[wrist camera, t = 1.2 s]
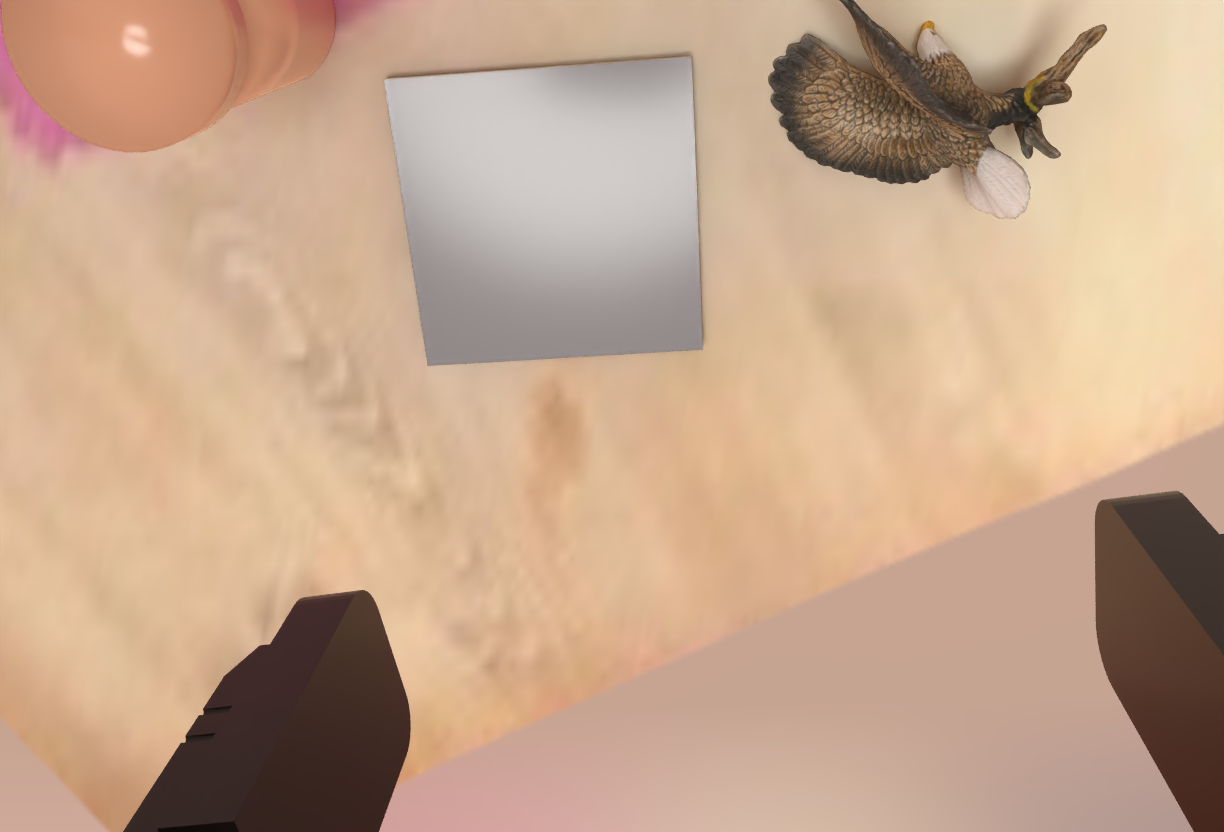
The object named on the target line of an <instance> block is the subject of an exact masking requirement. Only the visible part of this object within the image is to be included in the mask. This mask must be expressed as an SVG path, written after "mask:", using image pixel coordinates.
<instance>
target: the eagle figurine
mask: <svg viewBox="0 0 1224 832" xmlns="http://www.w3.org/2000/svg"><path fill="white" fill-rule="evenodd" d="M840 1H841V2H842V3H843V4H844V5H845V7H846V8H847V9H848V10H849V12H850V14H851V15H852V17H853V19H854V21H855V23H856V27H857V31H858V33H859V36H860V38H861V41H862V45H863V47H864V49H865V51H866V53H867V55H868V57H869V59H870V61H871V63H872V65H873V66H874V67H875V68H876V70H877V71H878V72H879V73H880V74H881V75H882V76H883V77H884V78H885V80H886V81H887V82H885V81H883V80H881V79H879V78H876V77H874V76H872V75H870V74H868V73H865V72H863V71H860V70H858V69H856V68H854V67H853V66H851V65H850V64H848V63H847V62H846V61H845V60H844V59H843V58H842V57H841V56H839V55H838V54H837V52H835V51H834V50H832V49H830V48H829V47H828V46H827V45H826V44H825V43H823V42H822V41H821V40H819V39H817V38H815V37H813V36H812V35H809V34H808V35H805V36H804V37H803V38H802V41H801V43H799V44H791V45H789V46H788V48H787V51H786V52H787V53H786V56H781V57H778V58H777V59H775V60H774V62H773V67H774V69H775V70H774V72H772V73H771V74H770V75H769V77H768V81H769V84H770V86H771V87H772V88H773V90H774V94H773V95H772V96H771V102H772V104H773V106H774V107H775V108H776V109H777V110H778V111H780V112H781V113H783V114H784V116H783V117H782V118H780V120H779V121H780V125H781V126H782V127H784V128H785V129H787V130H788V131H789V132H788V133H787V136H788V139H789V141H791V142H792V143H793V144H794V145H795V146H796V147H797V148H798V149H799V150H801V151H804V154H805V155H806V157H808V158H810V159H814V160H816V161H817V162H818V164H820V165H823V166H831V167H832V168H834V169H838V170H840V171H843V172H850V171H853V173H854V174H856V175H862V176H864V177H867V178H877V179H878V180H879V181H881V182H887V183H890V184H892V183H898V184H904V183H906V182H911V183H918V182H919V181H920V180H926V179H928V178H929V176H930V175H931V174H935V173H937V172H939V171H940V169H941V167H942V168H948V167H950V166H951V164H952V163H954V164H956V165H958V166H960V168H961V172H962V177H963V182H964V191H965V195H966V199H967V201H968V202H969V203H970V204H971V205H972V206H973V207H974V208H975V209H977V210H979V211H983V212H985V213H989V214H992V215H994V216H996V217H997V218H1001V219H1003V218H1009V219H1012V218H1013V219H1016V218H1017V217H1018V216H1019V215H1020V214H1021V213H1023V212H1024V211H1025V210H1026V208H1027V205H1028V201H1029V199H1030V188H1031V187H1030V183H1029V181H1028V176H1027V174H1026V172H1025V171H1024V169H1023V168H1022V167H1021V166H1020V165H1019V164H1018V163H1017V162H1016V161H1015V160H1013V159H1012V158H1011V157H1009V156H1008V155H1006V154H1004V153H1002V152H1001V151H998V150H996V149H995V147H994V146H993V144H992V143H991V141H990V139H989V137H988V134H991V132H992V130H993V129H995V128H996V127H998V126H1001V125H1009V124H1011V123H1014V127H1015V131H1016V133H1017V135H1018V137H1019V141H1020V145H1021V150H1022V153H1023V154H1024V156H1025V157H1026V158H1027V159H1029V158H1031V156H1032V154H1033V147H1035V148H1036V149H1038V150H1039V151H1040V152H1042V153H1043V154H1044V155H1046V156H1047V157H1049V158H1053V159H1054V158H1058V157H1060V156H1061V153H1060V152H1059V151H1058V150H1057V149H1056V148H1055V147H1053V146H1052V145H1051V144H1050V143H1049V142H1048V141H1047V140H1046V138H1045V137H1044V135H1043V132H1042V125H1041V120H1040V118H1039V117H1038V116H1037V113H1038V112H1039V111H1040V110H1041V109H1042V107H1043V106H1045V105H1054V104H1059V103H1064V102H1068V101H1069V99H1070V98H1071V96H1072V91H1071V89H1070V87H1069V86H1068V85H1067V84H1066V83H1064V82H1065V81H1066V79H1067V78H1068V77H1069V75H1070V74H1071V72H1072V71H1073V70H1074V68H1075V67H1076V65H1077V64H1078V62H1079V61H1080V59H1081V58H1082V57H1083V55H1084V54H1085V53H1086V52H1087V51H1088V50H1089V49H1090V48H1092V47H1093V46H1094V45H1095V44H1096V43H1097V42H1098V41H1099V40H1100V39H1101V38H1102V37H1103V35H1104V34H1105V32H1106V31H1107V27H1106V26H1105V25H1103V24H1102V25H1099V26H1096V27H1093V28H1091V29H1089V30H1088V31H1085V32H1083V33H1082V34H1080V35H1079V36H1078V38H1077V39H1076V41H1075V43H1074V44H1073V45H1072V46H1071V47H1070V48H1069V49H1068V50H1067V51H1066V52H1065V53H1064V54H1063V55H1062V56H1061V58H1060V59H1059V61H1058V63H1057V64H1056V65H1055V66H1053V67H1051V68H1049V69H1047V70H1045V71H1043V72H1041V73H1040V74H1039V75H1038V76H1037V77H1036V78H1034V79H1033V80H1031V81H1029V82H1028V83H1027V85H1026V86H1025V87H1024V88H1017V89H1011V90H1009V91H1008V92H1006V93H1004V94H1001V95H999V94H994V93H987V92H984V91H982V90H980V89H979V88H978V87H976V86H975V85H974V84H973V81H972V78H971V76H970V74H969V72H968V70H967V69H966V67H965V66H964V64H963V63H962V62H961V61H960V60H959V59H957V57H956V56H955V55H954V54H953V53H952V51H951V50H950V49H949V48H948V46H947V45H946V44H945V42H944V41H943V40H942V38H941V37H940V36H939V35H938V34H937V33H936V32H935V31H934V29H933V28H934V23H933V22H931V21H928V22H926V23H925V24H924V25H923V28H922V32H921V35H920V37H919V40H918V44H917V52H918V55H919V58H920V59H919V58H918V57H916V56H914V55H913V54H911V53H910V52H908V51H907V50H906V49H905V48H904V47H903V46H902V45H901V44H900V43H899V42H898V41H897V40H896V39H895V38H894V37H893V36H892V35H891V34H890V33H888V32H887V31H886V30H885V29H884V28H882V27H880V26H879V25H877V24H876V23H875V22H874V21H872V20H871V19H870V18H869V17H868V15H867V14H866V13H865V12H864V11H862V10H861V8H860V7H859V6H858V5H857V4H856V3H855V2H854V0H840ZM1032 146H1033V147H1032Z"/></svg>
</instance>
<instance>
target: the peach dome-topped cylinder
mask: <svg viewBox="0 0 1224 832" xmlns="http://www.w3.org/2000/svg"><path fill="white" fill-rule="evenodd" d="M335 20H336V17H335V7H334V3H333V0H1V23H2V33H3V37H4V41H5V46H6V49H7V52H8V55H9V58H10V61H11V63H12V66H13V68H14V70H15V72H16V74H17V76H18V78H19V80H20V81H21V83H22V84H23V86H24V88H25V89H26V91H27V92H28V94H29V95H30V96H31V97H32V99H33V100H34V101H35V103H36V104H37V105H38V106H39V107H40V108H41V109H42V110H43V111H44V112H45V113H46V114H47V115H48V116H49V117H50V118H51V119H52V120H54V121H55V122H56V123H57V124H58V125H59V126H61V127H62V128H64V129H65V130H67V131H68V132H70V133H71V134H73V135H75V136H77V137H78V138H80V139H82V140H84V141H86V142H89V143H91V144H94V145H96V146H99V147H102V148H106V149H110V150H114V151H122V152H147V151H154V150H158V149H161V148H165V147H168V146H170V145H173V144H175V143H177V142H180V141H182V140H184V139H187V138H189V137H191V136H194V135H196V134H198V133H200V132H202V131H205V130H206V129H208V128H209V127H211V126H212V125H214V124H215V123H216V122H218V121H219V120H220V119H221V118H222V117H223V116H224V115H225V114H226V113H227V111H228V110H229V109H230V108H232V107H235V106H238V105H240V104H243V103H245V102H248V101H250V100H253V99H255V98H258V97H260V96H263V95H265V94H268V93H270V92H273V91H275V90H278V89H280V88H283V87H285V86H288V85H290V84H293V83H295V82H298V81H300V80H302V79H304V78H306V77H307V76H309V75H310V74H312V73H313V72H314V71H315V70H316V69H317V68H318V67H319V66H320V65H321V63H322V62H323V61H324V59H325V58H326V56H327V54H328V52H329V50H330V48H331V45H332V42H333V38H334V33H335Z"/></svg>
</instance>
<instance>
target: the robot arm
mask: <svg viewBox="0 0 1224 832" xmlns="http://www.w3.org/2000/svg"><path fill="white" fill-rule="evenodd" d="M1095 581H1096V630H1097V638H1098V645H1099V650H1100V654H1101V658H1102V662H1103V665H1104V668H1105V671H1106V674H1107V676H1108V679H1109V681H1110V683H1111V685H1112V687H1113V689H1114V690H1115V692H1116V694H1117V696H1118V698H1119V700H1120V701H1121V703H1122V705H1123V707H1124V708H1125V710H1126V712H1127V714H1128V715H1129V717H1130V719H1131V721H1132V723H1133V724H1134V726H1135V728H1136V730H1137V731H1138V733H1139V735H1140V737H1141V739H1142V740H1143V742H1144V744H1145V745H1146V747H1147V749H1148V751H1149V753H1150V754H1151V756H1152V758H1153V760H1154V762H1155V763H1156V765H1157V767H1158V769H1159V770H1160V772H1161V774H1162V776H1163V778H1164V779H1165V781H1166V783H1167V785H1168V786H1169V788H1170V790H1171V792H1172V793H1173V795H1174V797H1175V799H1176V801H1177V802H1178V804H1179V806H1180V808H1181V810H1182V811H1183V813H1184V815H1185V816H1186V818H1187V820H1188V822H1189V824H1190V825H1191V827H1192V829H1193V831H1194V832H1224V534H1219V533H1218V532H1217V531H1216V530H1215V529H1214V528H1213V527H1212V526H1211V525H1210V523H1209V522H1208V521H1207V520H1206V519H1205V518H1204V517H1203V516H1202V514H1201V513H1200V512H1199V511H1198V510H1197V509H1196V508H1195V507H1194V505H1193V504H1192V503H1191V502H1190V501H1189V500H1188V499H1187V498H1186V497H1185V496H1184V495H1183V494H1182V493H1180V492H1178V491H1172V492H1162V493H1155V494H1146V495H1139V496H1131V497H1123V498H1114V499H1107V500H1102V501H1100V502H1099V504H1098V506H1097V509H1096V514H1095ZM203 710H204V714H203V715H199V716H198V718H197V719H196V721H195V722H194V724H193V725H192V727H191V728H190V730H189V731H188V733H187V734H186V742H185V743H181V744H180V745H179V747H178V748H177V750H176V751H175V753H174V754H173V756H172V757H171V759H170V761H169V762H168V764H167V765H166V767H165V768H164V770H163V771H162V773H161V774H160V776H159V777H158V779H157V780H156V782H155V784H154V785H153V787H152V788H151V790H150V791H149V793H148V794H147V796H146V797H145V799H144V800H143V802H142V804H141V805H140V807H139V808H138V810H137V811H136V813H135V814H134V816H133V817H132V819H131V820H130V822H129V823H128V825H127V827H126V828H125V830H124V831H123V832H379V830H380V827H381V824H382V821H383V819H384V816H385V813H386V810H387V807H388V805H389V802H390V799H391V797H392V794H393V791H394V788H395V785H396V783H397V780H398V777H399V774H400V772H401V769H402V766H403V763H404V761H405V758H406V755H407V752H408V747H409V742H410V730H411V726H410V711H409V704H408V699H407V696H406V692H405V689H404V686H403V683H402V680H401V677H400V674H399V671H398V668H397V665H396V662H395V659H394V656H393V653H392V650H391V647H390V644H389V641H388V637H387V634H386V631H385V628H384V625H383V622H382V619H381V616H380V613H379V610H378V607H377V605H376V603H375V601H374V599H373V597H372V596H371V595H370V594H369V593H368V592H367V591H365V590H359V591H351V592H343V593H335V594H327V595H319V596H311V597H304V598H301V599H299V600H298V601H297V602H296V604H295V605H294V607H293V608H292V610H291V611H290V613H289V615H288V616H287V618H286V620H285V621H284V623H283V624H282V626H281V628H280V629H279V631H278V633H277V634H276V636H275V637H274V639H273V641H272V642H271V644H269V645H261V646H259V647H258V648H257V649H255V650H254V651H253V652H252V653H251V654H250V655H248V656H247V657H246V658H245V659H244V660H243V661H241V662H240V663H239V664H238V665H237V666H236V667H234V668H233V669H232V670H231V671H230V672H229V673H227V674H226V675H225V676H224V678H223V679H222V681H221V682H220V684H219V685H218V687H217V688H216V690H215V691H214V693H213V695H212V696H211V698H210V699H209V701H208V702H207V704H206V705H205V707H204V708H203Z"/></svg>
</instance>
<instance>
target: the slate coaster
mask: <svg viewBox="0 0 1224 832" xmlns="http://www.w3.org/2000/svg"><path fill="white" fill-rule="evenodd" d="M384 85H385V92H386V98H387V105H388V111H389V118H390V124H391V130H392V137H393V143H394V150H395V156H396V163H397V169H398V176H399V182H400V189H401V195H402V202H403V208H404V215H405V221H406V228H407V234H408V241H409V247H410V254H411V260H412V267H413V273H414V280H415V286H416V293H417V299H418V306H419V312H420V319H421V325H422V331H423V338H424V344H425V351H426V357H427V364H428V366H434V365H451V364H467V363H484V362H501V361H518V360H535V359H552V358H569V357H586V356H603V355H620V354H637V353H654V352H671V351H688V350H703V338H702V312H701V286H700V261H699V235H698V209H697V184H696V158H695V132H694V107H693V81H692V57H691V56H679V57H665V58H652V59H638V60H625V61H611V62H597V63H584V64H570V65H556V66H543V67H529V68H515V69H502V70H488V71H474V72H461V73H447V74H434V75H420V76H406V77H393V78H386V79H384Z"/></svg>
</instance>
